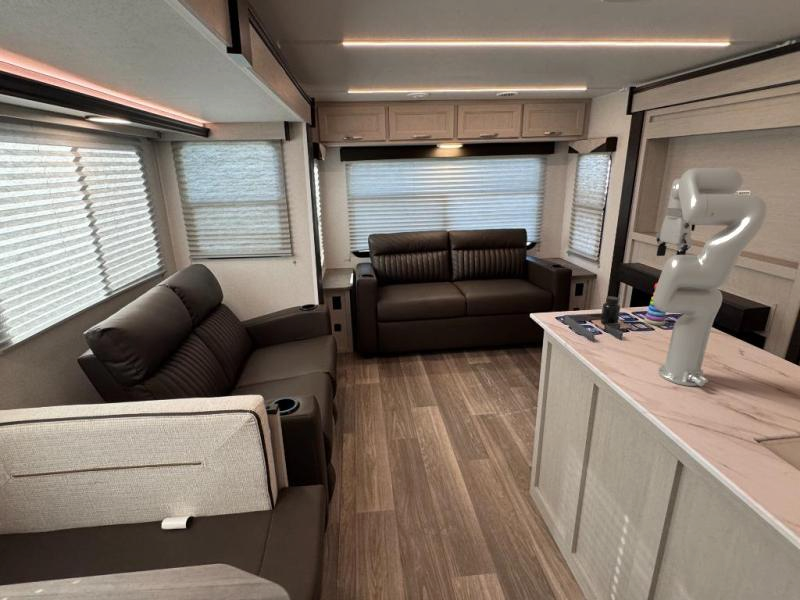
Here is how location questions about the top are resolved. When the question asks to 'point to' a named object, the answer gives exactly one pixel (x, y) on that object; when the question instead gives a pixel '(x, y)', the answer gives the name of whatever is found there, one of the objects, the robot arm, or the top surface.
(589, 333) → the bent rails
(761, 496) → the top surface
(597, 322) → the end pad
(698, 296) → the robot arm
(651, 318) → the stacking toy
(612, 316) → the supplement bottle
